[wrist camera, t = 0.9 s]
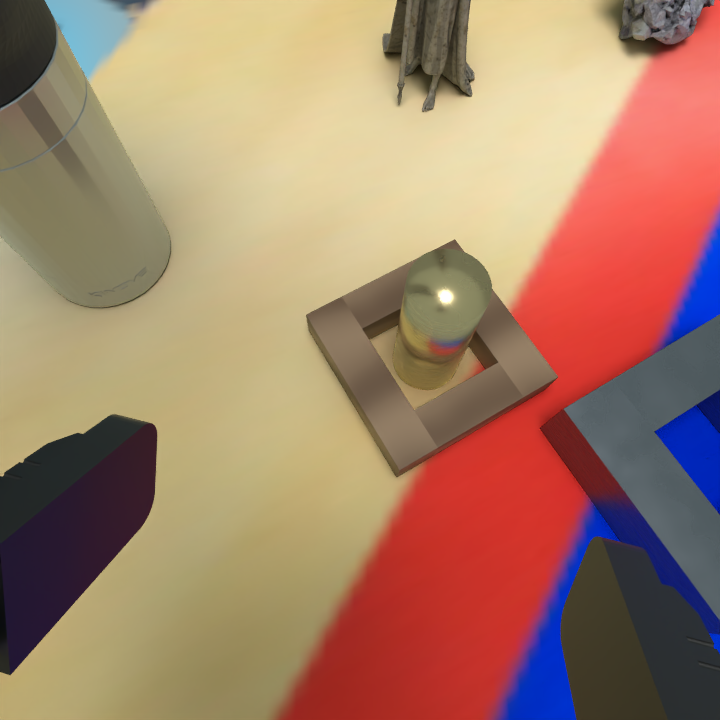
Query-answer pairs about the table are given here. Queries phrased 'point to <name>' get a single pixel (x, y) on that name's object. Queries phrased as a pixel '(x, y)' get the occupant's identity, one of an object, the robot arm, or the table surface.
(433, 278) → the brass peg
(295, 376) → the table surface
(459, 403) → the walnut stand
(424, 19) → the wizard figurine
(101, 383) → the table surface
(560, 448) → the charcoal block
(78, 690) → the table surface
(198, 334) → the table surface
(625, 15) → the mineral specimen
